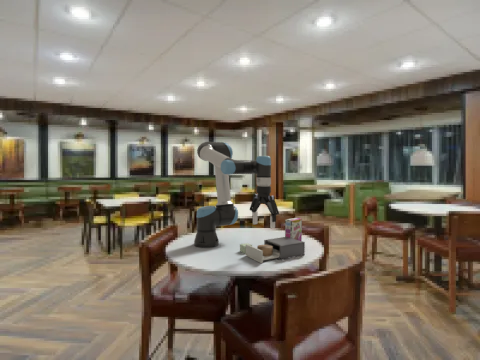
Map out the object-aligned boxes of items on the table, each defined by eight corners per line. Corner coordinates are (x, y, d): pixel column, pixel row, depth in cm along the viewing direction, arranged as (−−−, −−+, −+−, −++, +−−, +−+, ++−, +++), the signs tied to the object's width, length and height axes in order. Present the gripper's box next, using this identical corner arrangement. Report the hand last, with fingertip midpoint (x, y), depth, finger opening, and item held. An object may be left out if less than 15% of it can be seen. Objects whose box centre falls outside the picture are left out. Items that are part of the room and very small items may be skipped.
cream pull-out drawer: (269, 251, 164) (269, 240, 164) (286, 258, 151) (286, 246, 151) (245, 255, 156) (245, 244, 156) (261, 263, 143) (261, 251, 143)
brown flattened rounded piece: (254, 253, 155) (254, 245, 155) (266, 251, 159) (266, 243, 159) (263, 257, 148) (262, 249, 148) (275, 254, 152) (275, 247, 152)
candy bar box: (291, 248, 170) (291, 220, 170) (284, 246, 174) (284, 219, 173) (302, 244, 178) (302, 218, 177) (295, 243, 182) (295, 217, 181)
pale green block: (240, 251, 165) (239, 244, 165) (247, 249, 168) (247, 243, 167) (244, 253, 161) (244, 246, 161) (252, 252, 163) (252, 245, 163)
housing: (286, 248, 170) (286, 236, 170) (304, 254, 157) (304, 242, 157) (264, 252, 162) (264, 240, 162) (280, 259, 149) (280, 246, 149)
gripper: (243, 184, 159) (243, 223, 160) (275, 187, 140) (275, 231, 141) (253, 184, 164) (253, 221, 165) (286, 186, 144) (286, 229, 145)
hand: (263, 226), depth 153 cm, fingers open, 13 cm apart
